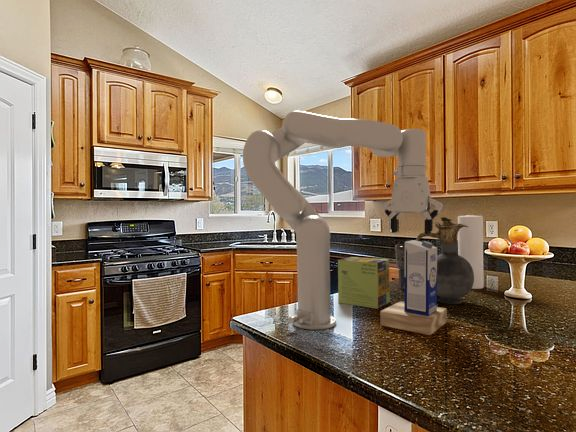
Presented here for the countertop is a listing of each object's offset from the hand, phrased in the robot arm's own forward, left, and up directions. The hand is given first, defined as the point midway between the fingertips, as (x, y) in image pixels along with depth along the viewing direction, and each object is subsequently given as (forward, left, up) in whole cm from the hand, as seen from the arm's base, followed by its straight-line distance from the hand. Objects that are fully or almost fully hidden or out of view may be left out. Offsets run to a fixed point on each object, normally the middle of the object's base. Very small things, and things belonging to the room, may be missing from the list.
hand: (410, 233), depth 105 cm
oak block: (0, 0, -26) cm, 26 cm away
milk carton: (0, -3, -22) cm, 22 cm away
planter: (+47, +19, -26) cm, 57 cm away
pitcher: (+31, +1, -26) cm, 41 cm away
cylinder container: (+63, 0, -26) cm, 69 cm away
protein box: (+13, +23, -26) cm, 37 cm away
